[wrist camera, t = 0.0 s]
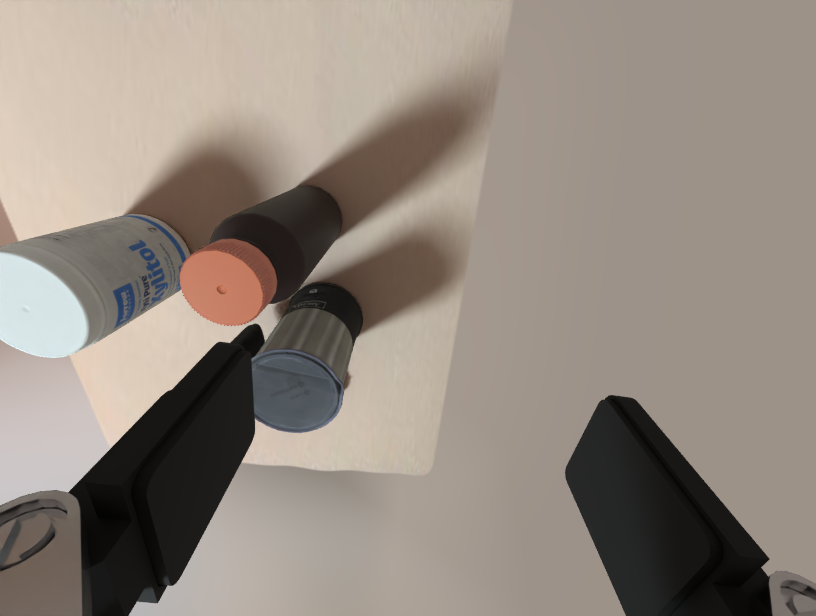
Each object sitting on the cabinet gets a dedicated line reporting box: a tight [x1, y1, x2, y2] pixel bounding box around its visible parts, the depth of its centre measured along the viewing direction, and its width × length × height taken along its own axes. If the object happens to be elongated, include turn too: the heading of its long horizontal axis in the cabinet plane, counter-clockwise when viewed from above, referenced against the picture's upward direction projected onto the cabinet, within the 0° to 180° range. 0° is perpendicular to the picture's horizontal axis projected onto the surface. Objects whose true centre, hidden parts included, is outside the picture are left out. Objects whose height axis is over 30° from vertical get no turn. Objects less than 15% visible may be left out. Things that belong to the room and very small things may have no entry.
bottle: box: [179, 186, 342, 326], centre depth 29 cm, size 7×7×20 cm
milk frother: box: [231, 283, 363, 433], centre depth 39 cm, size 14×16×15 cm
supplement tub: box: [0, 214, 190, 358], centre depth 34 cm, size 10×10×15 cm
